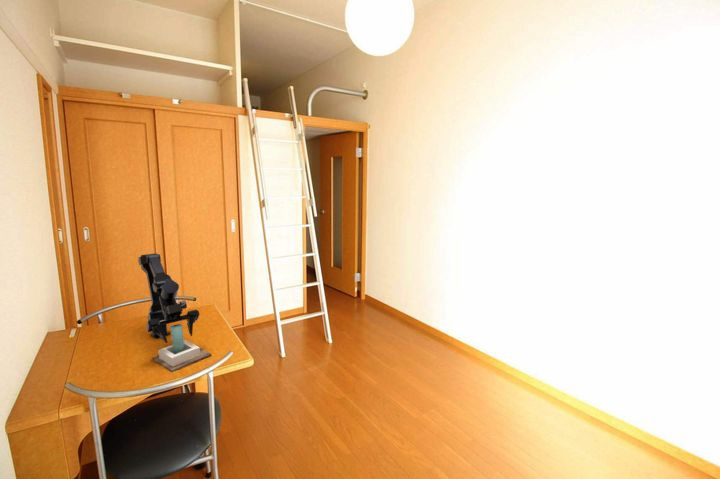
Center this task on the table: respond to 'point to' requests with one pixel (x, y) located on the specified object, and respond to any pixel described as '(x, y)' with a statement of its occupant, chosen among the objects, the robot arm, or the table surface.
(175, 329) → the teal peg
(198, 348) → the socket
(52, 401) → the table surface
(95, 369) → the table surface
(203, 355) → the base board
